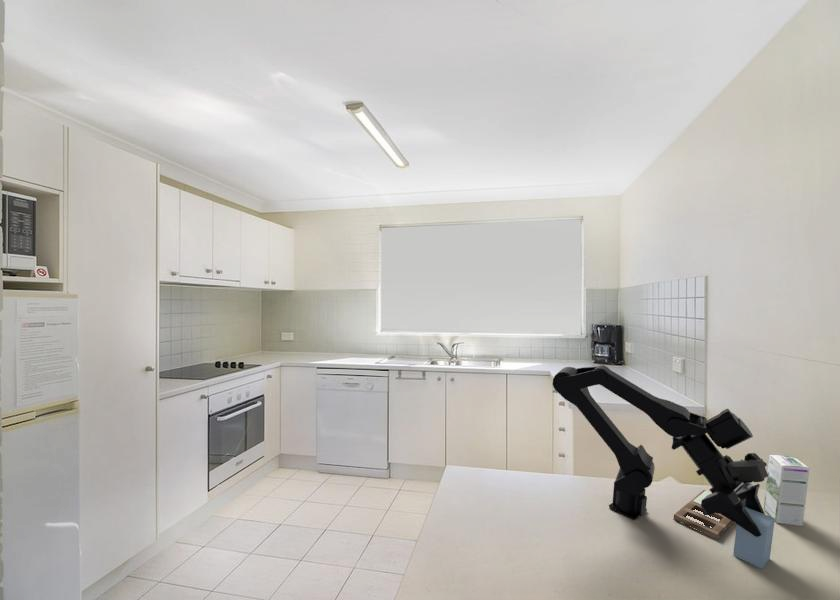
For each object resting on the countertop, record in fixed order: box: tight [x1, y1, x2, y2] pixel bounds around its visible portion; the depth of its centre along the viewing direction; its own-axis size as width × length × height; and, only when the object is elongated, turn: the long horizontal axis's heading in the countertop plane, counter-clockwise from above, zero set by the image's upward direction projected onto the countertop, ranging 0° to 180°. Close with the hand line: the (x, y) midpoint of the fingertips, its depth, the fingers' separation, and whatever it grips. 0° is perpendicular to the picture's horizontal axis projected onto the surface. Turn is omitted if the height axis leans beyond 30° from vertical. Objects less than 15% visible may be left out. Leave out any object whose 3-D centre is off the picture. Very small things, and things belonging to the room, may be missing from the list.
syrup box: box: [763, 454, 810, 527], centre depth 106 cm, size 6×6×14 cm
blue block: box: [732, 507, 776, 570], centre depth 92 cm, size 5×5×9 cm
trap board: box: [673, 489, 734, 540], centre depth 107 cm, size 9×18×1 cm, turn 128°
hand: (763, 531), depth 91 cm, fingers closed on blue block, 5 cm apart
